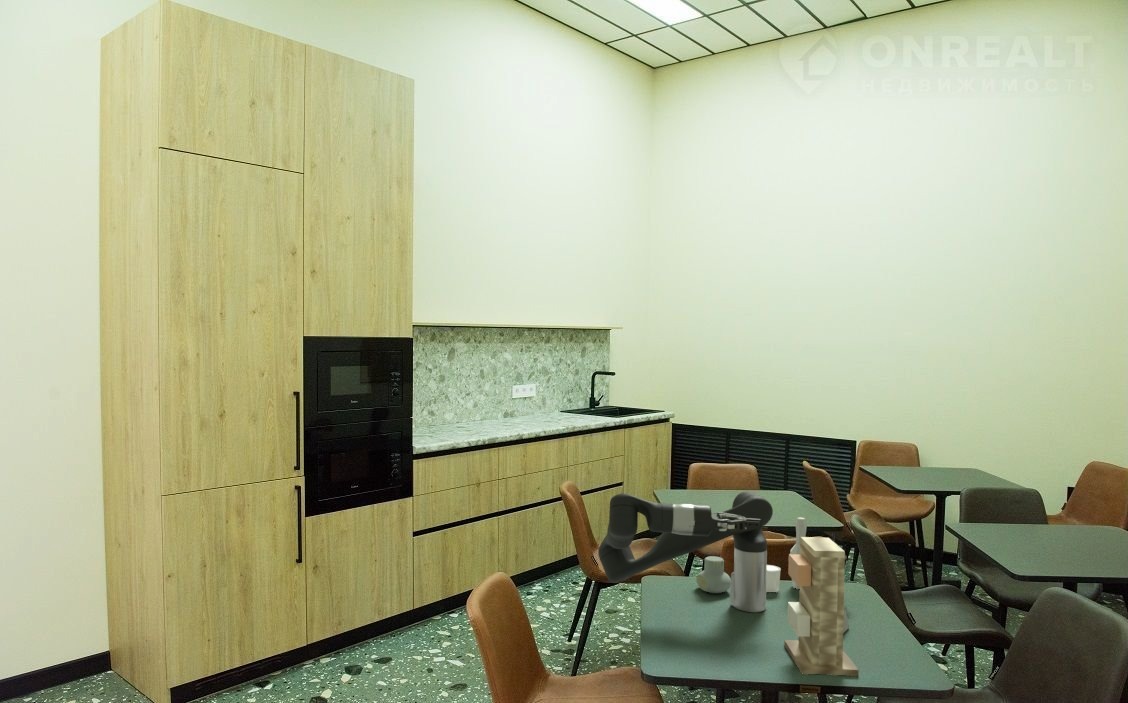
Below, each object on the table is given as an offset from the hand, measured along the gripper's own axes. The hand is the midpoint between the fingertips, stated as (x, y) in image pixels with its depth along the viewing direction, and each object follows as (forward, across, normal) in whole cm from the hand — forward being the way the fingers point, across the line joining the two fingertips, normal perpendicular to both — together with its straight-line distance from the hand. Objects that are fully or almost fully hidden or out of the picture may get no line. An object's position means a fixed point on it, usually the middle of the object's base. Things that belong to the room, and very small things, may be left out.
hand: (761, 524), depth 179 cm
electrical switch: (+25, -20, -31) cm, 45 cm away
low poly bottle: (+26, -54, -30) cm, 67 cm away
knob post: (+16, -1, -32) cm, 36 cm away
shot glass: (+15, -51, -30) cm, 61 cm away
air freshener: (-2, -49, -31) cm, 58 cm away
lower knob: (+13, -1, -25) cm, 28 cm away
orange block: (+12, 0, -13) cm, 18 cm away
